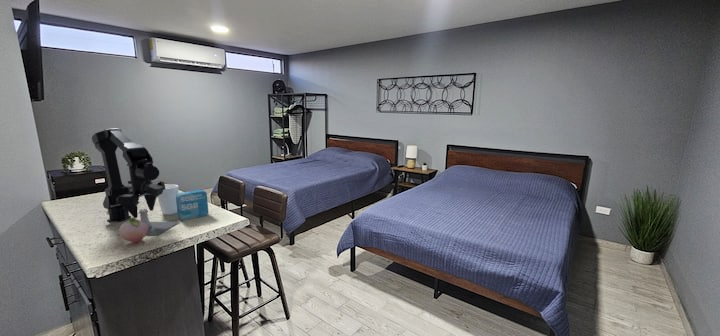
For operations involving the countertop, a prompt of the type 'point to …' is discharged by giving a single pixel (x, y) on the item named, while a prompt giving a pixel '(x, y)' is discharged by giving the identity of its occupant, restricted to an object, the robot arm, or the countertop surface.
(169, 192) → the foam cup
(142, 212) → the rook chess piece
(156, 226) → the mat
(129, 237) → the decorative fruit
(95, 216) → the countertop surface
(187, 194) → the data package
